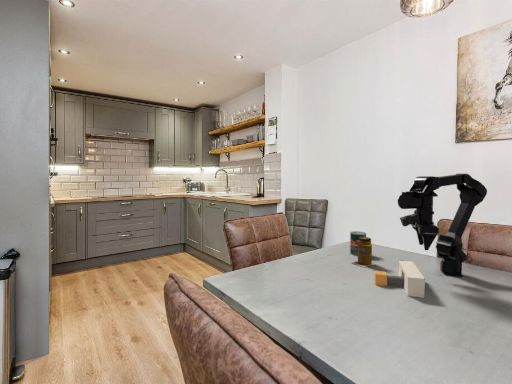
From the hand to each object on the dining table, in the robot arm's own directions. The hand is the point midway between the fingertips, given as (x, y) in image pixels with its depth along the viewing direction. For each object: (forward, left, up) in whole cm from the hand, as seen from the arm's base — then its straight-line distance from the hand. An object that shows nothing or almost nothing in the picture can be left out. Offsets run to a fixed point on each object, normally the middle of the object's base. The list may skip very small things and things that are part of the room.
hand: (423, 247), depth 115 cm
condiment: (+22, -12, -12) cm, 28 cm away
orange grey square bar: (+11, +12, -12) cm, 20 cm away
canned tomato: (+24, -30, -12) cm, 40 cm away
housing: (+6, +12, -12) cm, 18 cm away
